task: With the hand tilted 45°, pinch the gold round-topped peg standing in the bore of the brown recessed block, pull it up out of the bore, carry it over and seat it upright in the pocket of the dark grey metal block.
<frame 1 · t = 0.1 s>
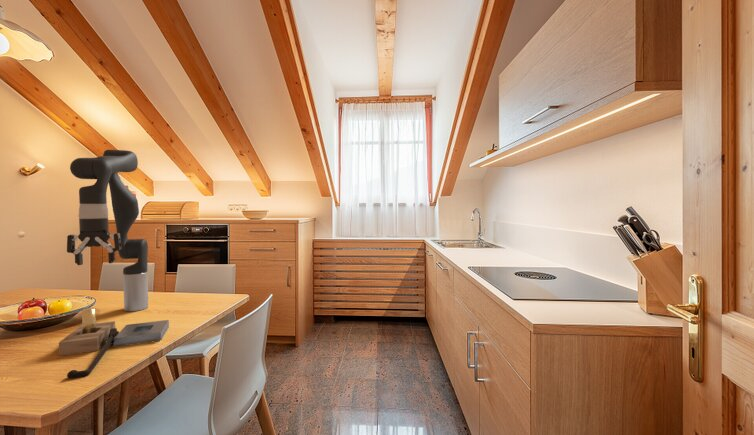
hand: (95, 263, 111), 29 cm above the table, tool pointing down, fingers open, 8 cm apart
brown recessed block: (89, 343, 116), on the table
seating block: (143, 336, 122), on the table
wrench: (96, 357, 106), on the table
gold round-topped peg: (89, 336, 115), point 2 cm above the table, touching brown recessed block
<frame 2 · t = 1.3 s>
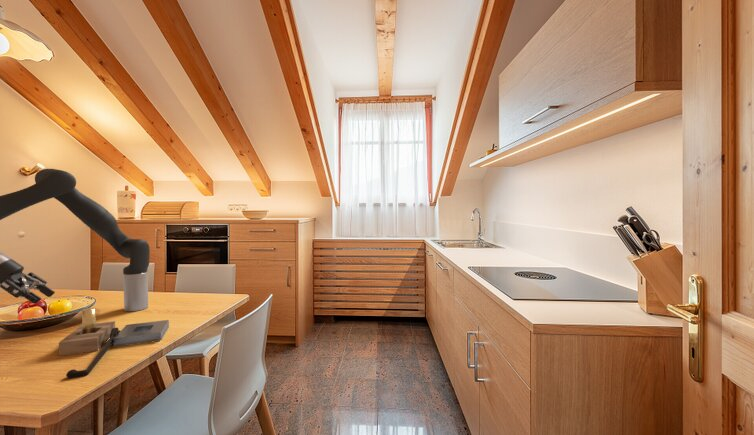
hand: (45, 298, 110), 18 cm above the table, tool tilted 45°, fingers open, 8 cm apart
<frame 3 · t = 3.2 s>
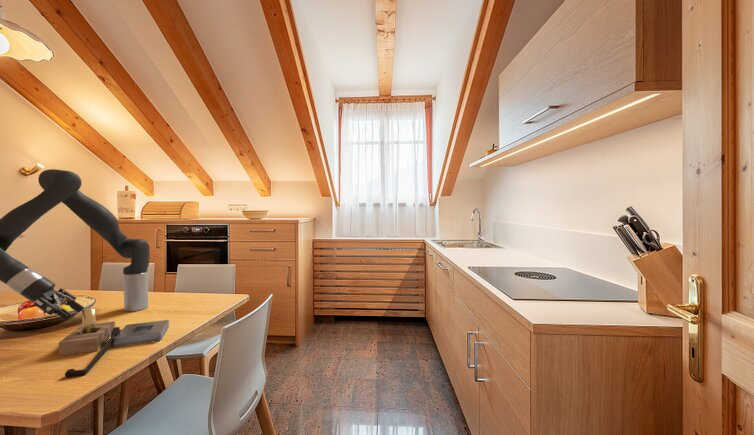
hand: (76, 313, 114), 11 cm above the table, tool tilted 45°, fingers open, 8 cm apart
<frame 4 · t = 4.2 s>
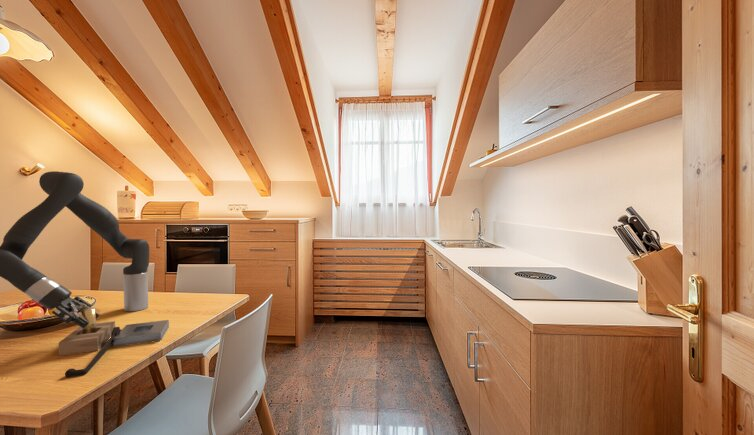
hand: (92, 321, 116), 8 cm above the table, tool tilted 45°, fingers open, 8 cm apart
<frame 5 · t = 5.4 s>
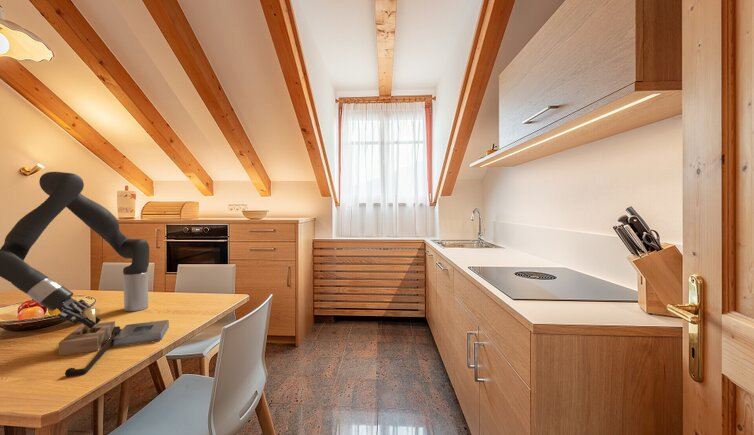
hand: (96, 323, 116), 7 cm above the table, tool tilted 45°, fingers closed on gold round-topped peg, 3 cm apart
gold round-topped peg: (89, 336, 115), point 2 cm above the table, touching brown recessed block, gripper
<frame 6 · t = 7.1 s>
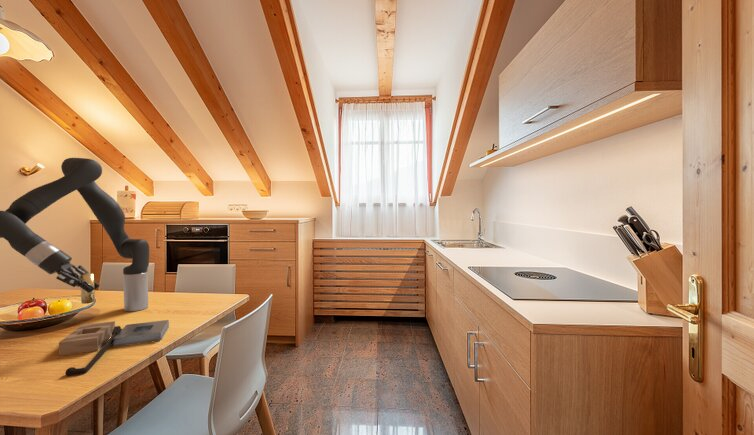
hand: (94, 289, 116), 19 cm above the table, tool tilted 45°, fingers closed on gold round-topped peg, 3 cm apart
gold round-topped peg: (88, 302, 115), point 15 cm above the table, touching gripper
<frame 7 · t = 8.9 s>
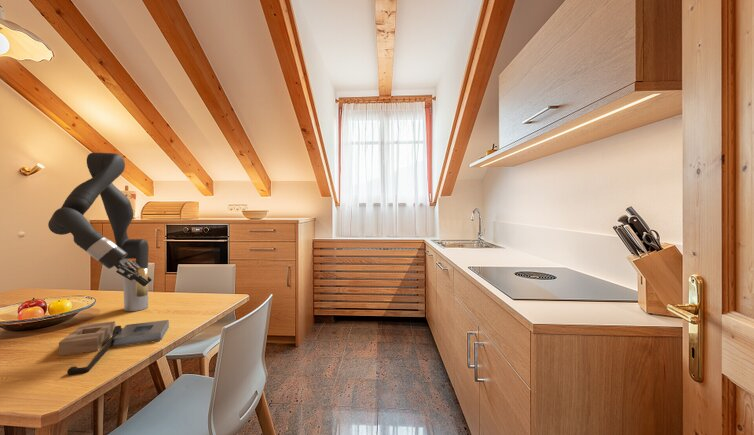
hand: (148, 283, 122), 20 cm above the table, tool tilted 45°, fingers closed on gold round-topped peg, 3 cm apart
gold round-topped peg: (142, 295, 121), point 16 cm above the table, touching gripper
when the fingers open (6 cm above the table, at t = 12.1 s): gold round-topped peg drops 1 cm, resting in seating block.
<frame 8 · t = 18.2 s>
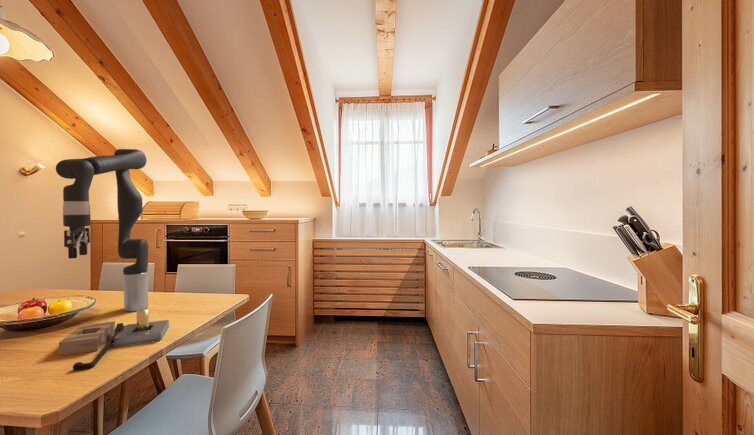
hand: (78, 256, 121), 30 cm above the table, tool pointing down, fingers open, 8 cm apart
wrench: (102, 350, 111), on the table
gold round-topped peg: (143, 336, 122), resting in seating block
at the end: gold round-topped peg 0.1 cm off-centre on the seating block, point 0.0 cm above the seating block's base; gold round-topped peg tilted 0°; the gripper is holding nothing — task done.
